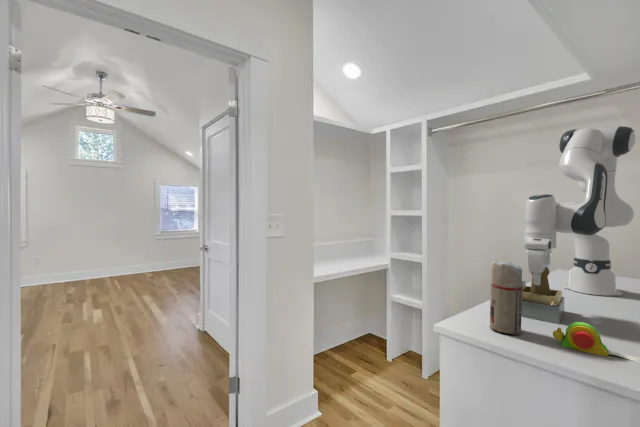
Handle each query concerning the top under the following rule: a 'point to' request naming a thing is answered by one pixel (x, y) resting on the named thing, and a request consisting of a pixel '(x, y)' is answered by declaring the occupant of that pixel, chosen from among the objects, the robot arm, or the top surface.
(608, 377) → the top surface
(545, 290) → the cork
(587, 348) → the toy measuring tape
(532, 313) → the grey wooden box
